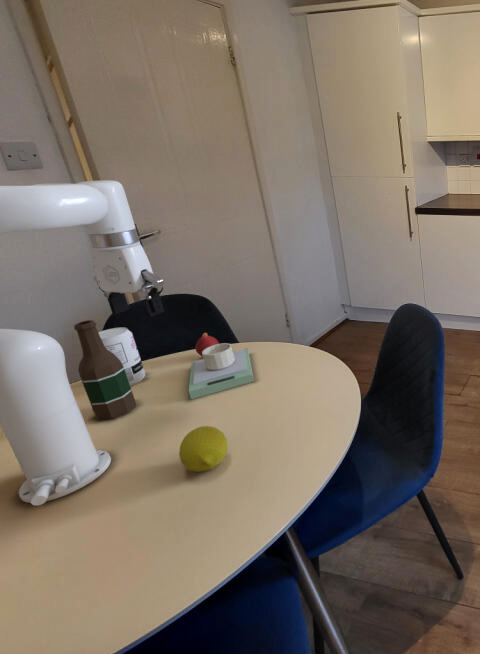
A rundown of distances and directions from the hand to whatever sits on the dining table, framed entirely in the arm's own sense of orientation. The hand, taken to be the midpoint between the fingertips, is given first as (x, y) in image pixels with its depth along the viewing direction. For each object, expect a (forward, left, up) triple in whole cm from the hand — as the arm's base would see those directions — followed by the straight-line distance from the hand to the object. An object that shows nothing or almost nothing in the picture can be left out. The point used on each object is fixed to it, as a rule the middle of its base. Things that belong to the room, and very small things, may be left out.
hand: (138, 313), depth 94 cm
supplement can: (+24, +11, -26) cm, 37 cm away
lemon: (-27, -8, -26) cm, 39 cm away
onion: (+27, -8, -26) cm, 39 cm away
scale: (+12, -11, -26) cm, 31 cm away
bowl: (+13, -11, -23) cm, 29 cm away
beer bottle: (+8, +11, -26) cm, 30 cm away
